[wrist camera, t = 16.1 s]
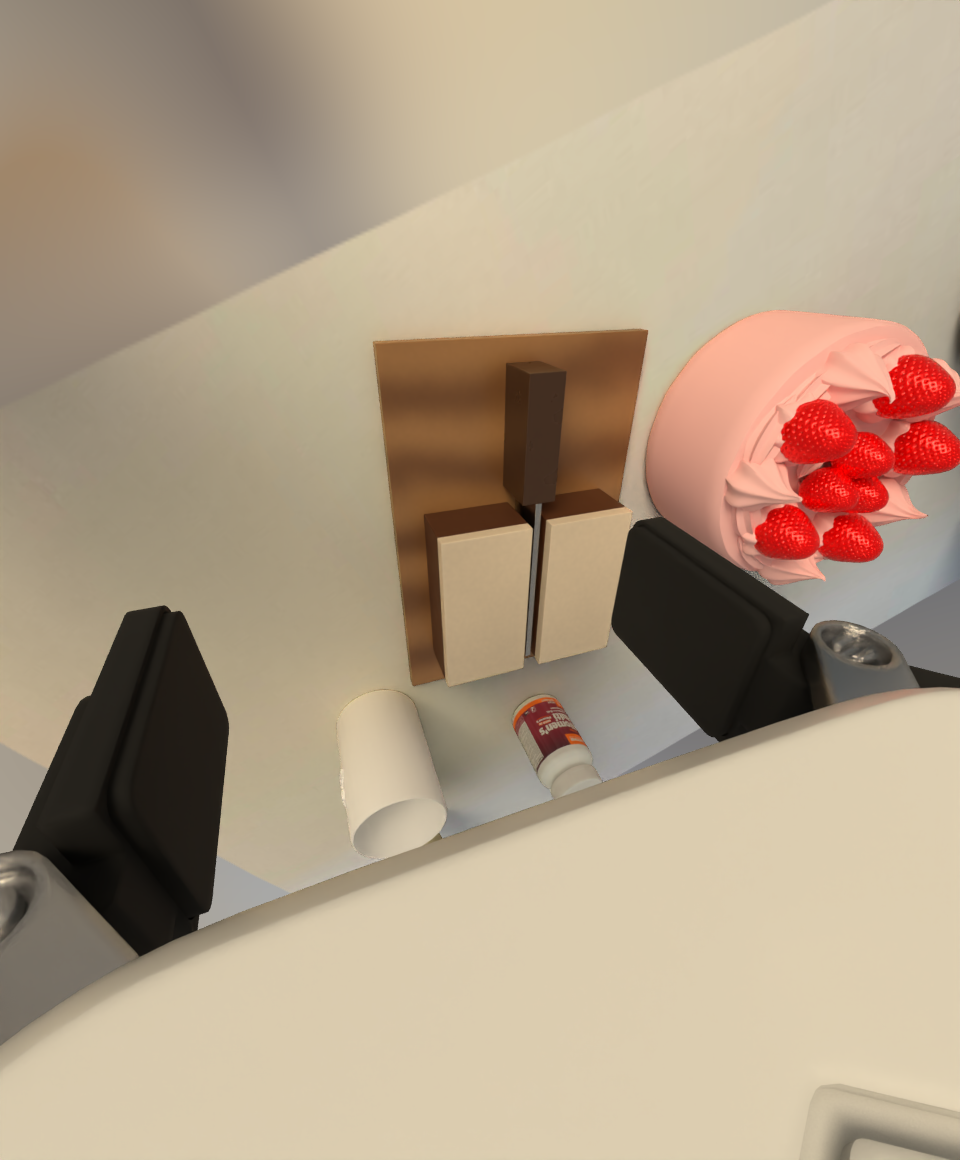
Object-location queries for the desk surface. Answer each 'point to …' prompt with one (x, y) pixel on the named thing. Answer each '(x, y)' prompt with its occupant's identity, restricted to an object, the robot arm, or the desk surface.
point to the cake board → (490, 436)
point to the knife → (532, 449)
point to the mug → (387, 776)
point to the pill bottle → (554, 746)
